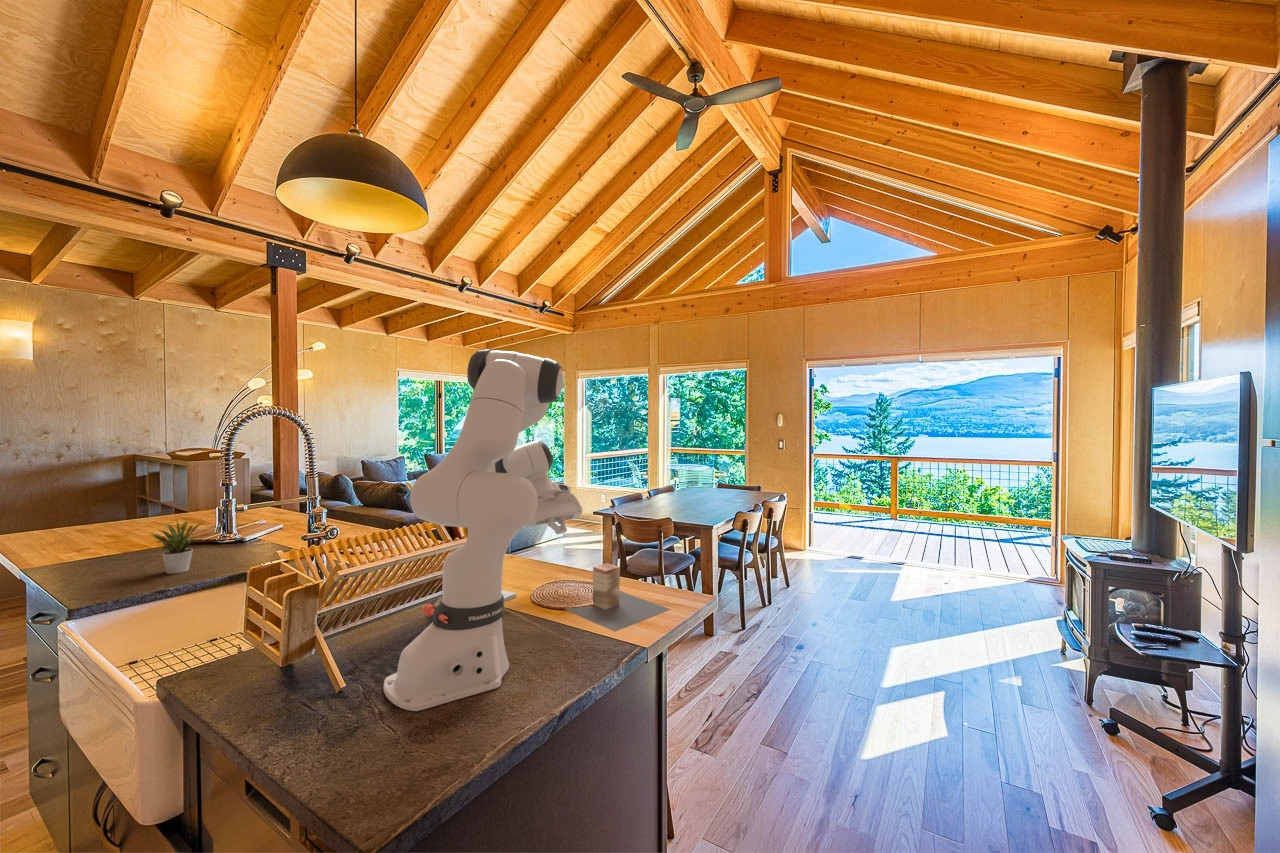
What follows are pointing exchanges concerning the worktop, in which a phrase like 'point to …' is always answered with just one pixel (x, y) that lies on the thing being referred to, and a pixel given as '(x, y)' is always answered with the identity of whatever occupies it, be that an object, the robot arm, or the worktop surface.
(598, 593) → the beige brown block
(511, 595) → the hard drive
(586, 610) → the rubber mat
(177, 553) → the house plant
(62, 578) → the worktop surface
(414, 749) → the worktop surface
